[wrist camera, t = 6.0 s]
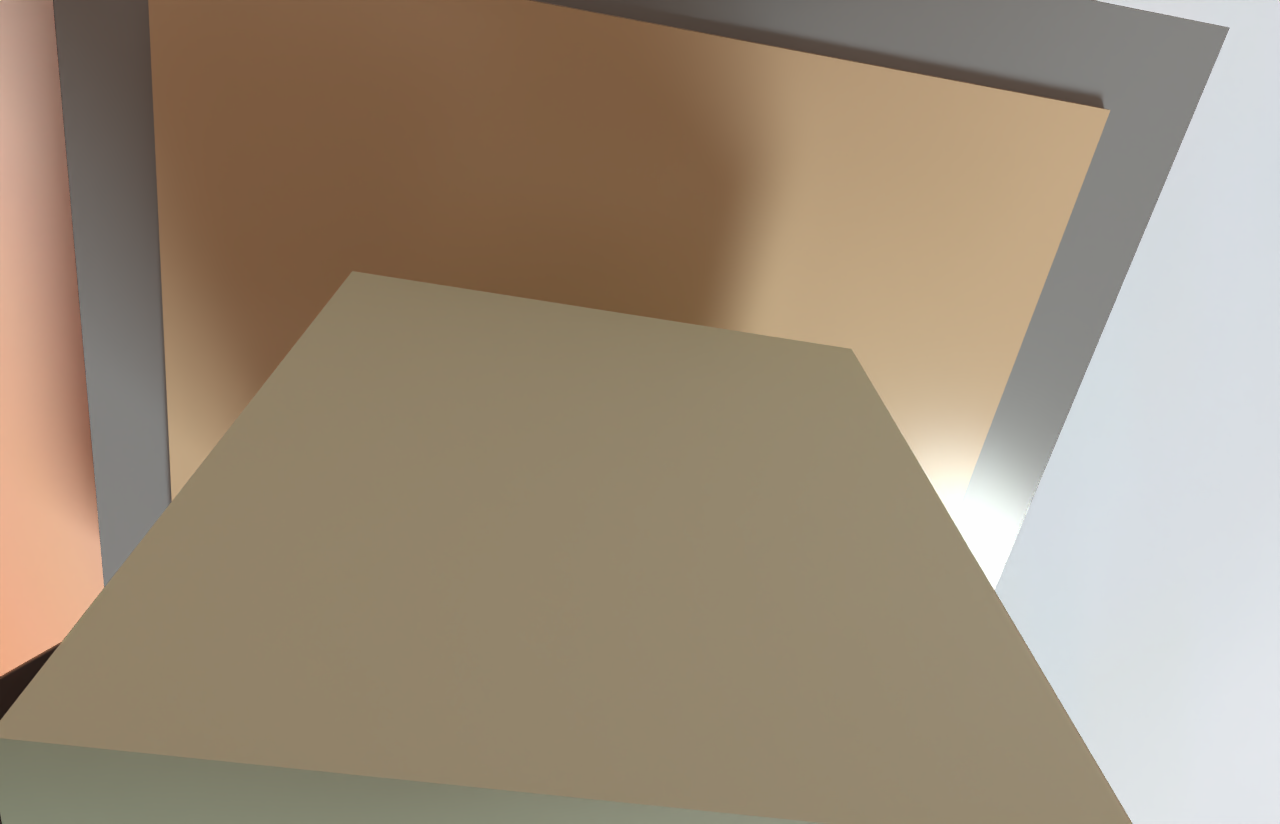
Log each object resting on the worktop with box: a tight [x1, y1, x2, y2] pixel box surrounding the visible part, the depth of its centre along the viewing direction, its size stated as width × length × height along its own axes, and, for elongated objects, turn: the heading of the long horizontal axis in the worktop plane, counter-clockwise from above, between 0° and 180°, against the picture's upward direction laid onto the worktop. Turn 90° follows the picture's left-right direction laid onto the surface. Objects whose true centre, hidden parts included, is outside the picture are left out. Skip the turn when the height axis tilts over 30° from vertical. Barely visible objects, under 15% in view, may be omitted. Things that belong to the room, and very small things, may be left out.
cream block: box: [0, 271, 1132, 824], centre depth 8 cm, size 5×5×6 cm
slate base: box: [53, 0, 1229, 590], centre depth 13 cm, size 12×12×3 cm
